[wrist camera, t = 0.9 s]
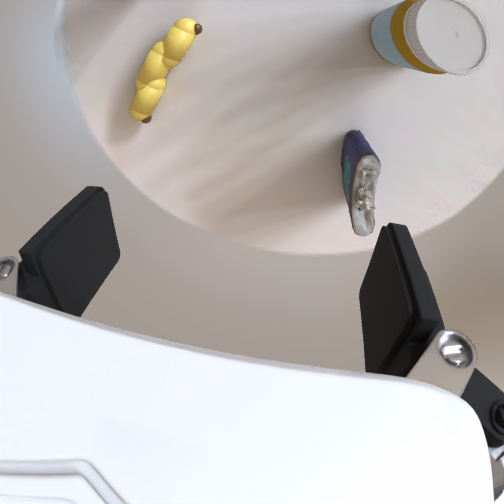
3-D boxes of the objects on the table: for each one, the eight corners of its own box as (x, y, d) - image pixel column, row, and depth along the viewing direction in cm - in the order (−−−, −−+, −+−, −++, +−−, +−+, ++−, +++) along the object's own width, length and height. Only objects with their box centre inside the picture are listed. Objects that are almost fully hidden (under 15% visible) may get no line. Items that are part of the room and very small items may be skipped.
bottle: (410, 77, 28) (469, 100, 16) (358, 43, 27) (392, 40, 15) (436, 33, 24) (506, 34, 12) (384, -2, 23) (433, -29, 11)
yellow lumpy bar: (179, 12, 28) (168, 9, 25) (209, 26, 29) (200, 25, 26) (128, 107, 36) (115, 113, 33) (153, 122, 37) (142, 129, 34)
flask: (362, 199, 39) (376, 248, 30) (340, 199, 39) (348, 247, 31) (365, 129, 33) (385, 159, 25) (341, 128, 34) (353, 158, 25)
